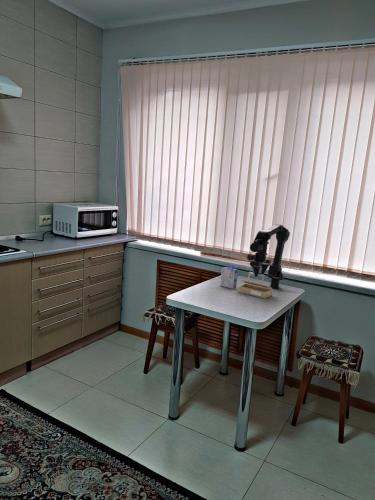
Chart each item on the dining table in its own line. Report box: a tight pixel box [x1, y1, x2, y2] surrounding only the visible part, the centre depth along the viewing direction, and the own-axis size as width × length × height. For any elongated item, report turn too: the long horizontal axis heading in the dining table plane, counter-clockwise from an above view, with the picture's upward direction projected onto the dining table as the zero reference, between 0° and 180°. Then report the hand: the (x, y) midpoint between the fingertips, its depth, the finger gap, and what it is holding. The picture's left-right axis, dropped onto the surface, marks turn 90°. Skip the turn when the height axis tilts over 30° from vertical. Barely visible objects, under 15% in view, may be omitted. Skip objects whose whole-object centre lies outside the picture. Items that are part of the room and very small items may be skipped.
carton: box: [237, 283, 273, 300], centre depth 239 cm, size 10×18×4 cm, turn 54°
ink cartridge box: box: [219, 263, 239, 289], centre depth 251 cm, size 10×6×14 cm, turn 57°
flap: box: [239, 271, 273, 290], centre depth 239 cm, size 9×18×6 cm, turn 54°
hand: (259, 275), depth 240 cm, fingers open, 9 cm apart
